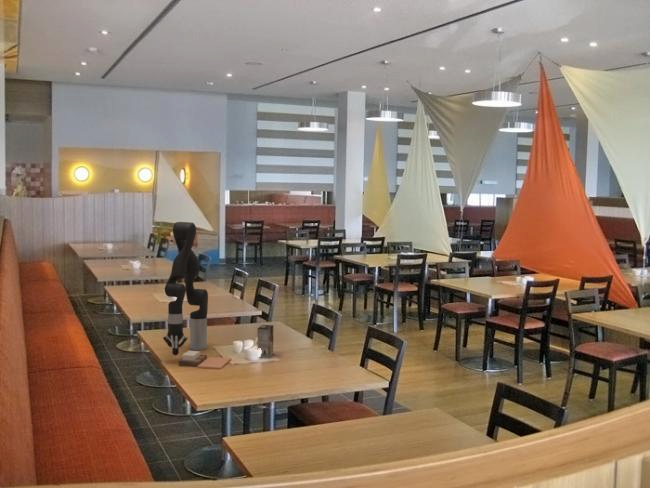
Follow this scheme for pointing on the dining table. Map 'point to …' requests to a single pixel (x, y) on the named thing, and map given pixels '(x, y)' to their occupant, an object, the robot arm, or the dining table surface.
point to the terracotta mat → (214, 363)
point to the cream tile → (190, 355)
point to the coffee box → (265, 340)
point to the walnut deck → (193, 361)
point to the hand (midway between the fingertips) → (175, 355)
